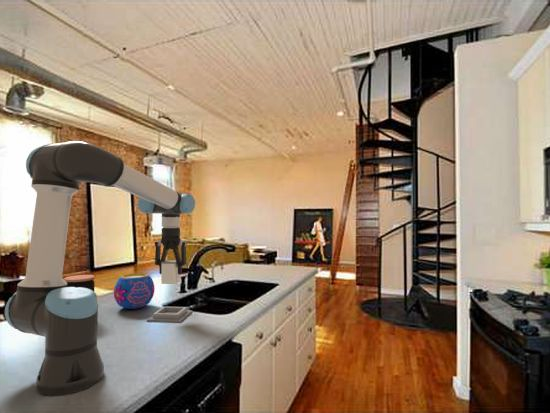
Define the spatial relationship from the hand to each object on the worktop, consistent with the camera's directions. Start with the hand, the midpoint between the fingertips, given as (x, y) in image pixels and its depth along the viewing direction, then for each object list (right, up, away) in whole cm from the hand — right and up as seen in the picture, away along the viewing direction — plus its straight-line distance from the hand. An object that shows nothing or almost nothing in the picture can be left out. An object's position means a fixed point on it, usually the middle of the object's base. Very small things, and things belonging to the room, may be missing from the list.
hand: (170, 281), depth 140 cm
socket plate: (0, -15, 0) cm, 15 cm away
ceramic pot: (-21, -15, +13) cm, 29 cm away
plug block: (0, 0, 0) cm, 0 cm away
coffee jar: (-35, -15, -7) cm, 38 cm away
